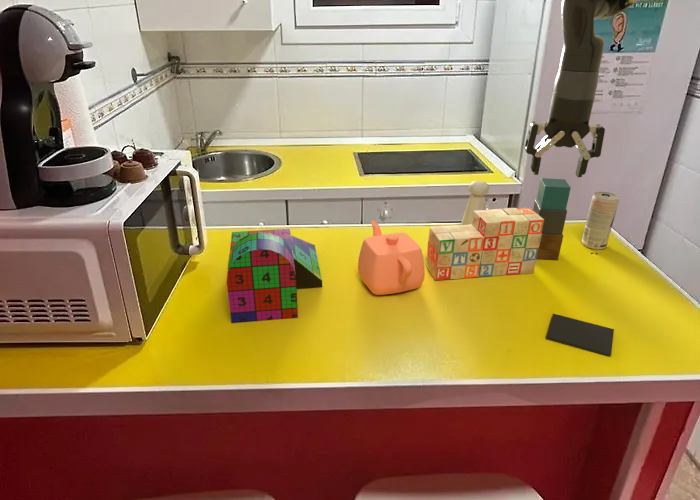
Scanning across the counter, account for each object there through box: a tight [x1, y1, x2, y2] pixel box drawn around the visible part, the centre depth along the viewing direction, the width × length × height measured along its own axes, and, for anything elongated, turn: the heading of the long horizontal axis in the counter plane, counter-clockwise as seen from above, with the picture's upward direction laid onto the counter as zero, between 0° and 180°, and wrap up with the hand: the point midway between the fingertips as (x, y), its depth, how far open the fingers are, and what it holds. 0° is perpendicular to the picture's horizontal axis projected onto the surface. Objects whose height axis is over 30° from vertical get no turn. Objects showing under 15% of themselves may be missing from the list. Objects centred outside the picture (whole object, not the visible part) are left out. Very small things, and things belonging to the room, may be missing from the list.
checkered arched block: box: [226, 228, 323, 324], centre depth 99 cm, size 25×17×14 cm
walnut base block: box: [536, 233, 564, 261], centre depth 113 cm, size 6×6×6 cm
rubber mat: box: [545, 313, 615, 358], centre depth 88 cm, size 10×8×1 cm
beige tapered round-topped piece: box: [460, 180, 489, 225], centre depth 120 cm, size 6×6×13 cm
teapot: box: [357, 219, 426, 296], centre depth 101 cm, size 11×18×10 cm, turn 19°
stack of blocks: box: [425, 207, 544, 281], centre depth 105 cm, size 21×6×12 cm, turn 100°
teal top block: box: [536, 177, 572, 210], centre depth 108 cm, size 5×5×5 cm
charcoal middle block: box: [532, 199, 568, 235], centre depth 111 cm, size 6×6×6 cm
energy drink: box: [581, 191, 619, 251], centre depth 116 cm, size 5×5×12 cm
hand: (556, 174), depth 106 cm, fingers open, 8 cm apart
